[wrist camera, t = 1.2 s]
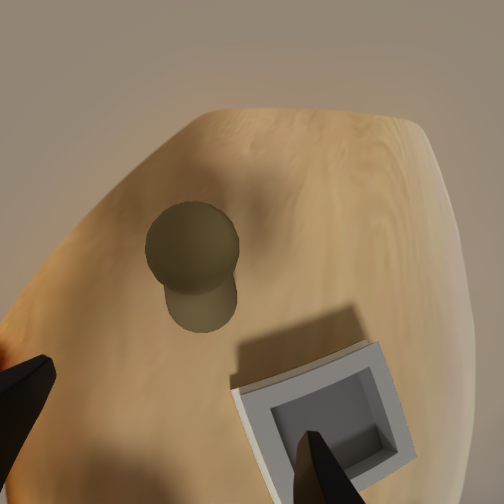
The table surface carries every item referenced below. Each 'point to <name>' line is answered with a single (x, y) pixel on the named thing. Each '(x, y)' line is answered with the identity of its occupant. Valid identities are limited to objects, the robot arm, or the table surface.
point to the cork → (195, 264)
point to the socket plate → (328, 418)
